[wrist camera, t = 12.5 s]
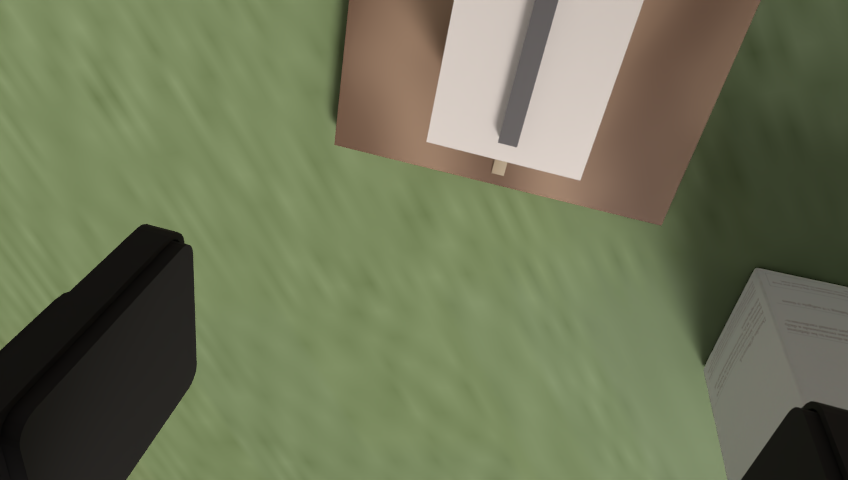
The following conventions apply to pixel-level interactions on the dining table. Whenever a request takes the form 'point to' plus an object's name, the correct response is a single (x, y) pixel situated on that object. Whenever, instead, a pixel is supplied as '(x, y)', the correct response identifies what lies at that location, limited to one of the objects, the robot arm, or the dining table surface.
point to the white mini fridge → (530, 79)
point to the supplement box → (776, 360)
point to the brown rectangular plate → (620, 126)
